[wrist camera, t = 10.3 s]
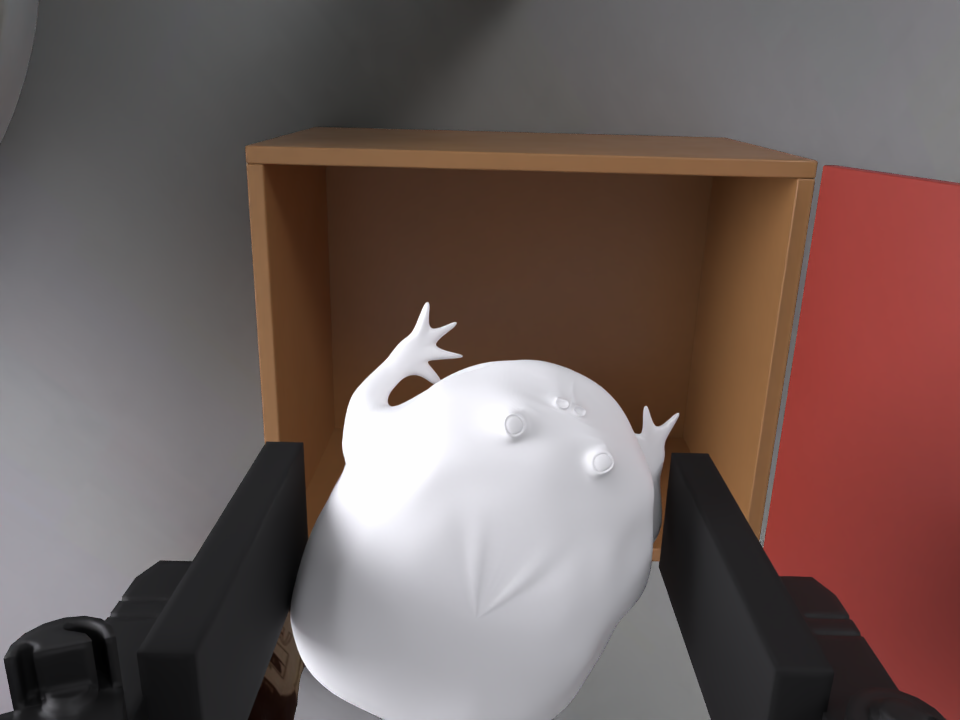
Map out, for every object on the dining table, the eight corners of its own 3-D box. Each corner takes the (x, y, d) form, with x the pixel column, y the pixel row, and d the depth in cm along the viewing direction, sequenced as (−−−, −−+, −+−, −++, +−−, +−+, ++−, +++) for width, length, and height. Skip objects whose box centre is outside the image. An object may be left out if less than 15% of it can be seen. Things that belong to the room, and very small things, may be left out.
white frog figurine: (407, 269, 16) (383, 325, 12) (714, 406, 17) (776, 496, 13) (265, 592, 18) (211, 719, 15) (541, 697, 19) (554, 841, 15)
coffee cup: (177, 493, 37) (21, 699, 25) (355, 540, 38) (289, 762, 26) (147, 647, 40) (-6, 900, 28) (314, 687, 41) (237, 953, 28)
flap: (823, 164, 22) (834, 164, 22) (758, 576, 26) (768, 574, 26) (1121, 208, 15) (1136, 207, 15) (968, 759, 19) (981, 755, 19)
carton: (726, 137, 32) (818, 160, 23) (690, 443, 36) (756, 564, 27) (314, 126, 32) (244, 145, 23) (326, 433, 36) (271, 550, 27)
